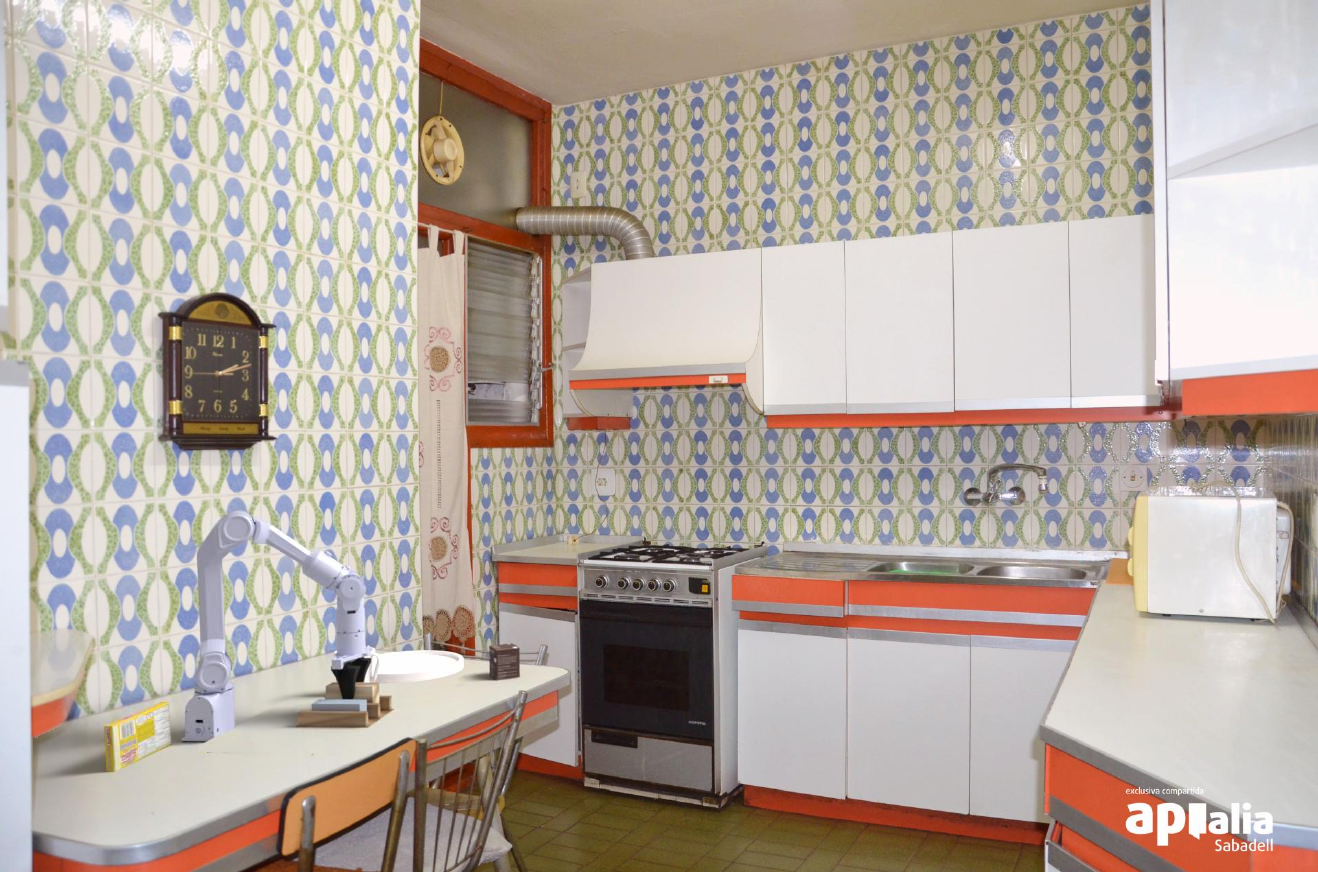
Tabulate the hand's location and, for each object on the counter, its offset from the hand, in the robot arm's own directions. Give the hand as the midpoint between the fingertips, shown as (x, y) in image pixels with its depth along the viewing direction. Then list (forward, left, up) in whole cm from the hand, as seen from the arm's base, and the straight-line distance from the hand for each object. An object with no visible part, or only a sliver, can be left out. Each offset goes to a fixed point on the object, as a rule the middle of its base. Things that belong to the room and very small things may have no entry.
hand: (352, 696), depth 210 cm
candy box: (-27, +29, -5) cm, 40 cm away
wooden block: (0, 0, -3) cm, 3 cm away
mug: (+18, +6, -5) cm, 19 cm away
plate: (+45, +5, -5) cm, 45 cm away
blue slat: (-6, 0, -3) cm, 7 cm away
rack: (-3, 0, -4) cm, 5 cm away
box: (+38, -22, -5) cm, 44 cm away
